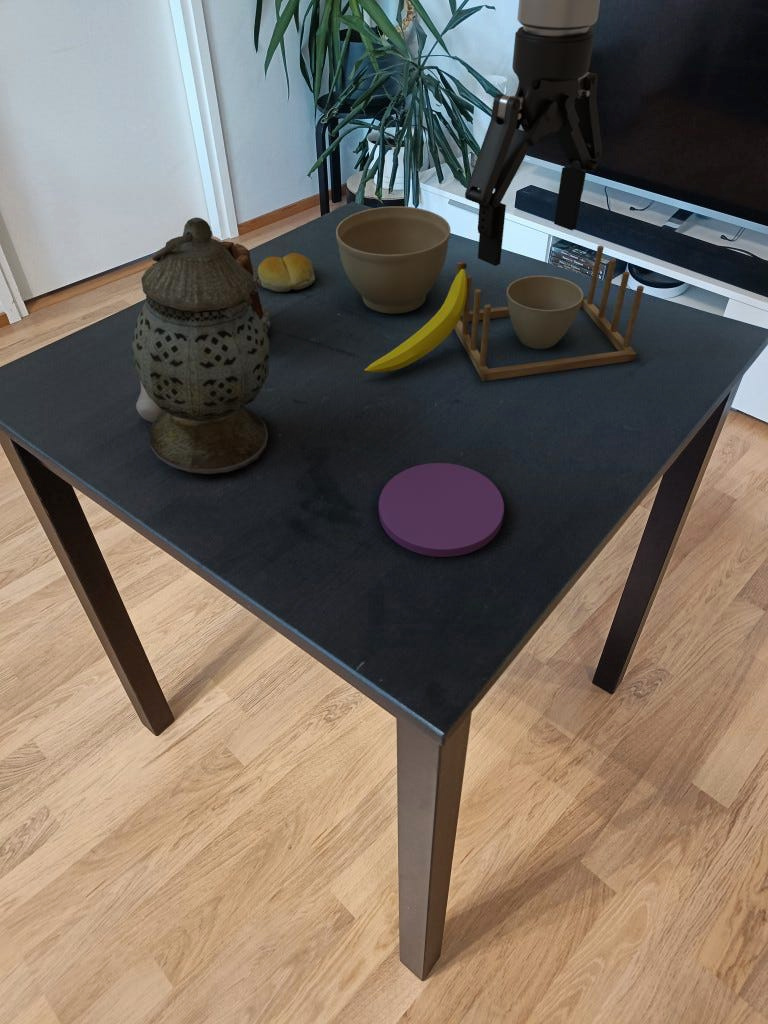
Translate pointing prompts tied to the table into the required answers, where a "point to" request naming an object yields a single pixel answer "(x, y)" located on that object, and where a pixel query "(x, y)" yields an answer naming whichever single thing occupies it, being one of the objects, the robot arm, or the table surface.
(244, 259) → the mug
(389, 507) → the lid
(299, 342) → the table surface
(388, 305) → the planter bowl
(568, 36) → the robot arm
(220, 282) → the lantern
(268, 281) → the bread roll
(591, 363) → the rack
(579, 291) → the flower pot
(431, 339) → the banana
